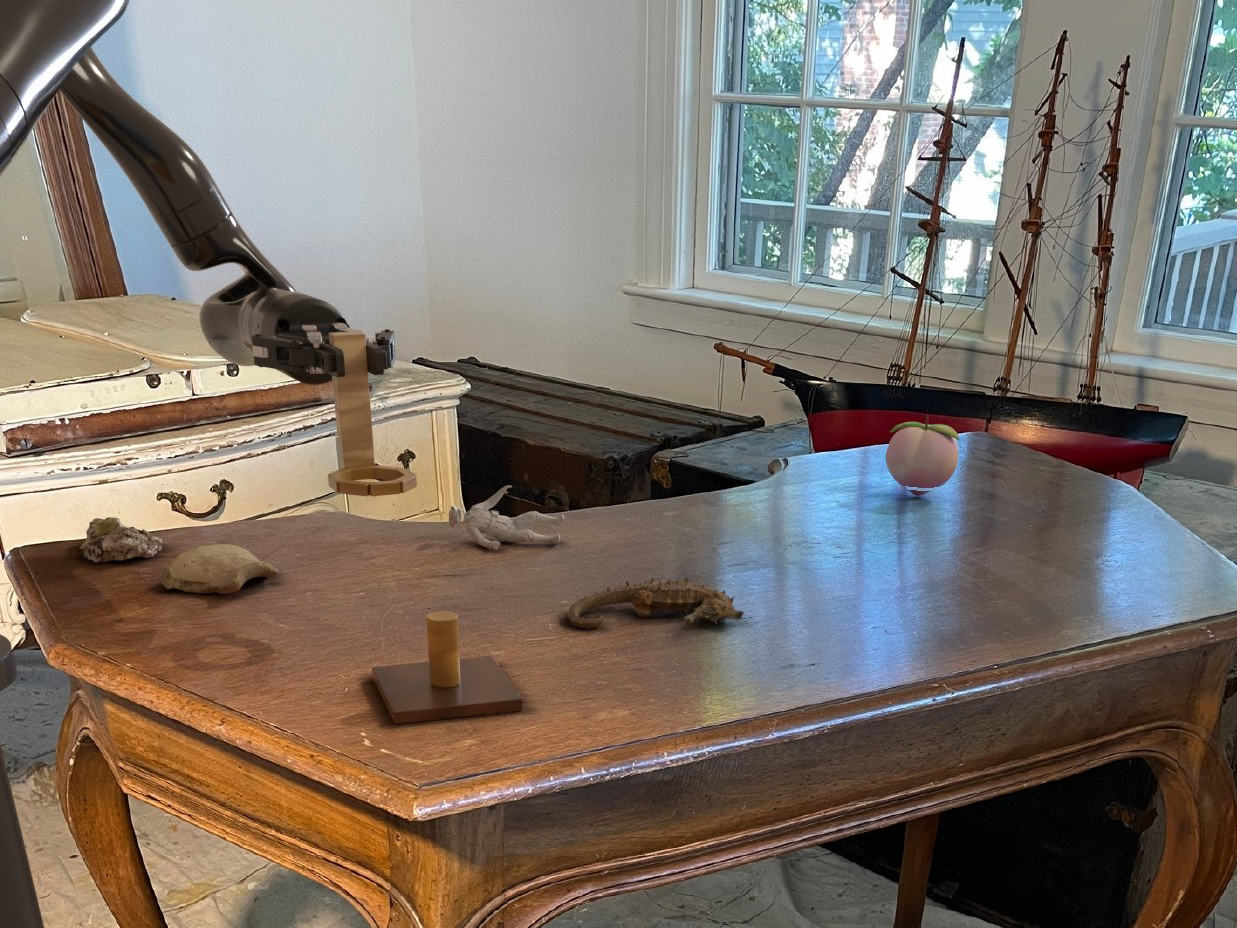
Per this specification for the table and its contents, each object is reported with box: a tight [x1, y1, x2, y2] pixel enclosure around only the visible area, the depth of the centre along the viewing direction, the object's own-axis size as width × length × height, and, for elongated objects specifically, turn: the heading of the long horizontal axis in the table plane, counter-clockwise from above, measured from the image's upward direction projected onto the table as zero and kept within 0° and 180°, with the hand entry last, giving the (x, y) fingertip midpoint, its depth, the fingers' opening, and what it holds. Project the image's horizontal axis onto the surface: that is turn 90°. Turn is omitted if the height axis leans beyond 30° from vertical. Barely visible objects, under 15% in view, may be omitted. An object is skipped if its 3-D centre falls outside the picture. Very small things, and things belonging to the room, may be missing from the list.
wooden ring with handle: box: [327, 331, 418, 497], centre depth 111 cm, size 9×7×12 cm
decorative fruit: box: [885, 414, 961, 497], centre depth 165 cm, size 9×8×10 cm
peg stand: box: [371, 610, 523, 725], centre depth 102 cm, size 10×10×6 cm
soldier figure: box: [448, 485, 565, 551], centre depth 142 cm, size 8×5×12 cm
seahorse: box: [567, 576, 745, 629], centre depth 121 cm, size 9×16×3 cm, turn 86°
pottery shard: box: [158, 543, 279, 594], centre depth 126 cm, size 11×4×10 cm
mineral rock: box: [78, 516, 163, 564], centre depth 134 cm, size 11×4×8 cm
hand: (360, 363), depth 110 cm, fingers closed on wooden ring with handle, 3 cm apart
